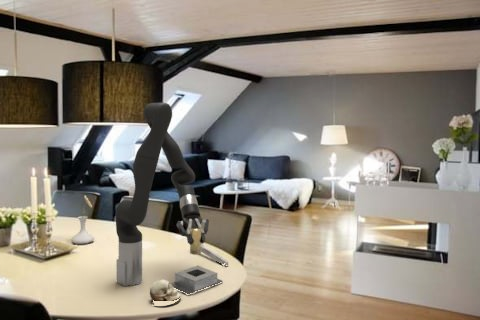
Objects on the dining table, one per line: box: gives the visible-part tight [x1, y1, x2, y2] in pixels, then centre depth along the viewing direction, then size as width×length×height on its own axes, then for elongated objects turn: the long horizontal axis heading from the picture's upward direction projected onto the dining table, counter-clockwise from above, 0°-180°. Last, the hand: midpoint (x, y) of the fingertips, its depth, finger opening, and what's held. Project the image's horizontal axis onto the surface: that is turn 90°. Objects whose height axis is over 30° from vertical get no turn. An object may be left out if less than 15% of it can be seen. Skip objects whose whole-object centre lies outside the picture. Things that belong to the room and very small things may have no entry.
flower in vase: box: [71, 195, 95, 245], centre depth 217 cm, size 13×11×25 cm
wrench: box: [201, 243, 229, 267], centre depth 196 cm, size 8×2×30 cm
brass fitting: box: [189, 227, 202, 255], centre depth 165 cm, size 4×4×10 cm
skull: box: [149, 279, 182, 304], centre depth 148 cm, size 12×10×10 cm
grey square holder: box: [170, 265, 223, 294], centre depth 163 cm, size 18×12×5 cm, turn 137°
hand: (197, 243), depth 163 cm, fingers closed on brass fitting, 4 cm apart
